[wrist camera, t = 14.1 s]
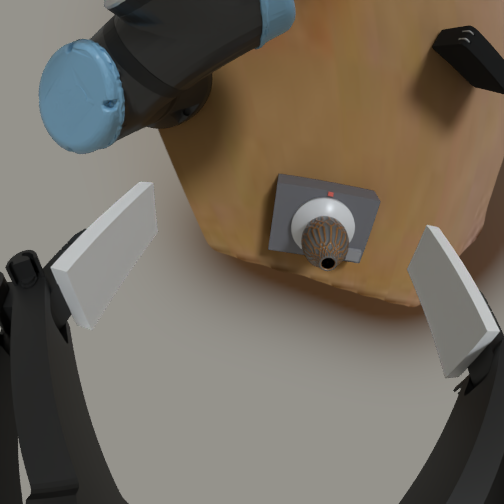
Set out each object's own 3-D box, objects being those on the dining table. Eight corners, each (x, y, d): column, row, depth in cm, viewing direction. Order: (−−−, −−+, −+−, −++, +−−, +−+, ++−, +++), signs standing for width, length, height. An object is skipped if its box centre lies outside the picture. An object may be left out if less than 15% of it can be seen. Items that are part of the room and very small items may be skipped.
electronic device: (472, 87, 28) (508, 96, 20) (430, 46, 27) (462, 44, 18) (481, 70, 26) (517, 76, 18) (439, 30, 24) (472, 24, 16)
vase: (318, 200, 40) (323, 231, 33) (353, 224, 41) (364, 259, 34) (292, 233, 44) (291, 268, 37) (326, 254, 45) (331, 291, 38)
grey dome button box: (270, 236, 51) (267, 252, 46) (278, 173, 43) (277, 185, 39) (355, 250, 50) (360, 266, 46) (374, 190, 43) (382, 204, 38)
